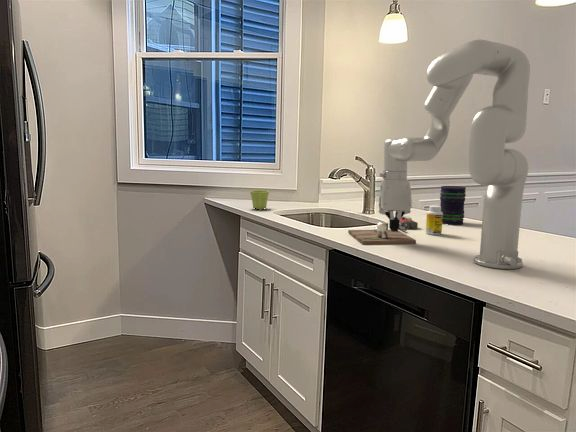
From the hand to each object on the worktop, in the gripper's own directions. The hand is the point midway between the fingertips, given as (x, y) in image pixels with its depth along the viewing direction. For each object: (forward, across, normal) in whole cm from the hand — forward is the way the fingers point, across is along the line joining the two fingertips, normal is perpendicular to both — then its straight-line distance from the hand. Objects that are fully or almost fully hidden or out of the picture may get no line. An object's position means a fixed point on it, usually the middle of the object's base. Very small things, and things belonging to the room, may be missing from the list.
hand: (394, 230), depth 165 cm
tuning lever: (+2, -3, +4) cm, 6 cm away
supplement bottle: (+4, +18, +11) cm, 22 cm away
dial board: (+3, -3, +4) cm, 6 cm away
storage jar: (+3, +35, +33) cm, 48 cm away
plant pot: (+1, -41, +75) cm, 86 cm away
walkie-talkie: (+3, +12, +23) cm, 26 cm away
